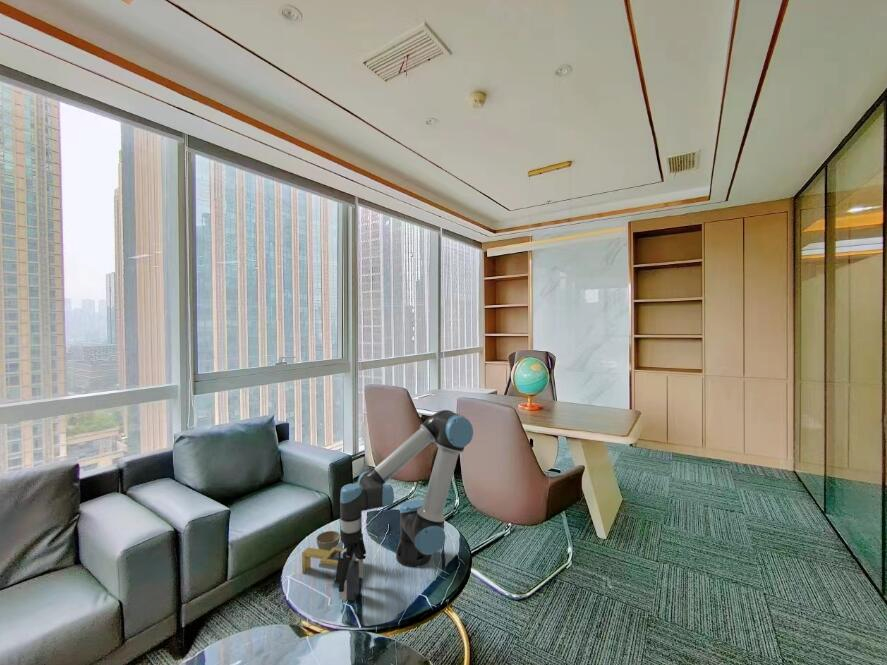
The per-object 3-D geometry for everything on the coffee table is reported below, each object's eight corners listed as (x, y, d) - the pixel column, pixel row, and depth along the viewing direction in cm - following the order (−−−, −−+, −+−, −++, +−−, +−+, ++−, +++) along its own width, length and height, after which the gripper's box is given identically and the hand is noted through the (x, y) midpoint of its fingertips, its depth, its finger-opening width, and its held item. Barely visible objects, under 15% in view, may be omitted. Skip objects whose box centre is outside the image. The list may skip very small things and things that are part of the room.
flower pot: (333, 561, 161) (333, 544, 161) (311, 558, 163) (311, 541, 163) (344, 547, 171) (344, 531, 171) (323, 545, 173) (323, 529, 173)
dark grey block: (359, 593, 141) (358, 561, 141) (353, 601, 137) (353, 568, 137) (349, 591, 142) (349, 559, 142) (343, 599, 138) (343, 566, 138)
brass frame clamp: (362, 560, 161) (362, 508, 161) (342, 586, 145) (341, 528, 145) (321, 553, 166) (320, 503, 166) (297, 577, 150) (297, 522, 150)
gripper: (357, 511, 152) (357, 565, 152) (323, 545, 129) (324, 608, 129) (374, 514, 150) (374, 568, 150) (343, 548, 127) (344, 612, 127)
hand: (351, 587), depth 140 cm, fingers open, 12 cm apart
